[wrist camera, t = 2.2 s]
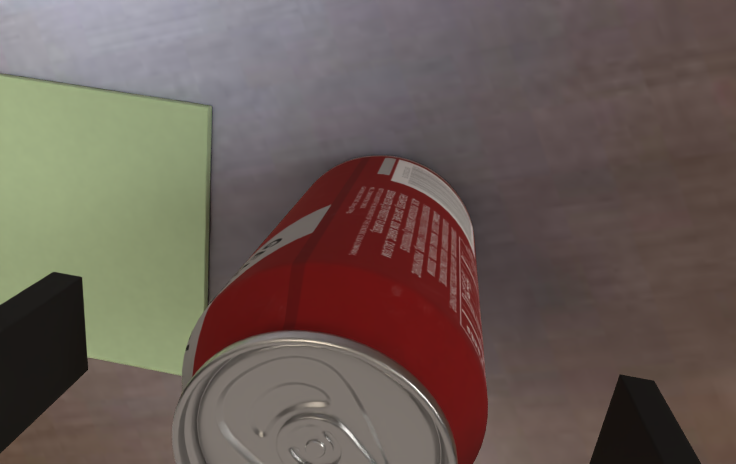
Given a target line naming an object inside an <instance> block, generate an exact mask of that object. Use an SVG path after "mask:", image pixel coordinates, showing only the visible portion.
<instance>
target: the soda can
mask: <svg viewBox="0 0 736 464" xmlns="http://www.w3.org/2000/svg"><path fill="white" fill-rule="evenodd" d="M182 391H183V393H182V394H181V397H180V399H179V402H178V404H177V407H176V410H175V414H174V418H173V425H172V446H173V453H174V458H175V462H176V464H473V463H474V461H475V459H476V457H477V455H478V453H479V450H480V448H481V445H482V442H483V438H484V435H485V431H486V424H487V417H488V398H487V386H486V374H485V362H484V350H483V338H482V325H481V313H480V301H479V289H478V277H477V265H476V253H475V241H474V231H473V226H472V222H471V219H470V216H469V213H468V211H467V209H466V207H465V205H464V203H463V201H462V200H461V198H460V197H459V195H458V194H457V192H456V191H455V190H454V189H453V188H452V187H451V185H450V184H449V183H448V182H447V181H445V180H444V179H443V178H442V177H441V176H440V175H438V174H437V173H436V172H434V171H432V170H431V169H429V168H428V167H426V166H424V165H422V164H420V163H417V162H414V161H412V160H409V159H405V158H402V157H396V156H388V155H371V156H363V157H359V158H354V159H351V160H348V161H346V162H343V163H341V164H339V165H337V166H335V167H333V168H332V169H330V170H329V171H327V172H326V173H324V174H323V175H322V176H321V177H320V178H319V179H318V180H316V182H315V183H314V184H313V185H312V186H311V187H310V188H309V189H308V191H307V192H306V193H305V194H304V195H303V196H302V198H301V199H300V200H299V201H298V202H297V203H296V205H295V206H294V207H293V208H292V209H291V210H290V211H289V213H288V214H287V215H286V216H285V217H284V218H283V220H282V221H281V222H280V223H279V224H278V225H277V227H276V228H275V229H274V230H273V231H272V232H271V234H270V235H269V236H268V237H267V238H266V239H265V241H264V242H263V243H262V244H261V245H260V246H259V248H258V249H257V250H256V251H255V252H254V253H253V254H252V256H251V257H250V258H249V259H248V260H247V261H246V263H245V264H244V265H243V266H242V267H241V268H240V270H239V271H238V272H237V273H236V274H235V275H234V277H233V278H232V279H231V280H230V281H229V282H228V284H227V285H226V286H225V287H224V288H223V289H222V291H221V292H220V293H219V294H218V295H217V296H216V297H215V299H214V300H213V301H212V302H211V303H210V304H209V306H208V307H207V308H206V310H205V311H204V312H203V314H202V315H201V317H200V318H199V319H198V321H197V323H196V325H195V327H194V329H193V331H192V333H191V335H190V338H189V340H188V343H187V346H186V350H185V354H184V359H183V366H182Z"/></svg>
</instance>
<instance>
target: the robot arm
mask: <svg viewBox="0 0 736 464" xmlns="http://www.w3.org/2000/svg"><path fill="white" fill-rule="evenodd" d="M87 370H88V361H87V345H86V329H85V313H84V298H83V282H82V277H80V276H74V275H69V274H63V273H58V272H52V273H50V274H49V275H47V276H46V277H44V278H42V279H41V280H39V281H38V282H36V283H34V284H33V285H31V286H30V287H28V288H26V289H25V290H23V291H22V292H20V293H18V294H17V295H15V296H14V297H12V298H10V299H9V300H7V301H6V302H4V303H2V304H1V305H0V453H1V452H2V451H3V450H4V449H5V448H6V447H8V446H9V445H10V444H11V443H12V442H13V441H14V440H15V439H16V438H17V437H18V436H19V435H20V434H21V433H22V432H23V431H24V430H25V429H26V428H27V427H28V426H30V425H31V424H32V423H33V422H34V421H35V420H36V419H37V418H38V417H39V416H40V415H41V414H42V413H43V412H44V411H45V410H46V409H47V408H48V407H49V406H51V405H52V404H53V403H54V402H55V401H56V400H57V399H58V398H59V397H60V396H61V395H62V394H63V393H64V392H65V391H66V390H67V389H68V388H69V387H70V386H72V385H73V384H74V383H75V382H76V381H77V380H78V379H79V378H80V377H81V376H82V375H83V374H84V373H85V372H86V371H87ZM590 464H701V463H700V461H699V459H698V457H697V456H696V454H695V452H694V450H693V449H692V447H691V445H690V443H689V441H688V440H687V438H686V436H685V434H684V433H683V431H682V429H681V427H680V426H679V424H678V422H677V420H676V419H675V417H674V415H673V413H672V412H671V410H670V408H669V406H668V405H667V403H666V401H665V399H664V397H663V396H662V394H661V392H660V390H659V389H658V387H657V385H656V383H655V382H654V381H652V380H647V379H641V378H636V377H630V376H625V375H619V378H618V381H617V384H616V387H615V390H614V393H613V396H612V399H611V402H610V405H609V408H608V411H607V414H606V417H605V420H604V423H603V426H602V429H601V432H600V434H599V437H598V440H597V443H596V446H595V449H594V452H593V455H592V458H591V461H590Z"/></svg>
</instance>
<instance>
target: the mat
mask: <svg viewBox="0 0 736 464" xmlns="http://www.w3.org/2000/svg"><path fill="white" fill-rule="evenodd" d="M211 122H212V106H209V105H203V104H196V103H190V102H183V101H177V100H170V99H163V98H157V97H150V96H144V95H137V94H131V93H124V92H118V91H111V90H105V89H98V88H92V87H85V86H79V85H72V84H66V83H59V82H53V81H46V80H40V79H33V78H26V77H20V76H13V75H7V74H0V305H1V304H2V303H4V302H6V301H7V300H9V299H10V298H12V297H14V296H15V295H17V294H18V293H20V292H22V291H23V290H25V289H26V288H28V287H30V286H31V285H33V284H34V283H36V282H38V281H39V280H41V279H42V278H44V277H46V276H47V275H49V274H50V273H52V272H58V273H63V274H69V275H74V276H80V277H82V282H83V298H84V313H85V329H86V345H87V357H90V358H95V359H100V360H105V361H110V362H115V363H120V364H125V365H130V366H135V367H140V368H145V369H150V370H155V371H160V372H165V373H170V374H175V375H180V376H182V366H183V359H184V354H185V350H186V346H187V343H188V340H189V338H190V335H191V333H192V331H193V329H194V327H195V325H196V323H197V321H198V319H199V318H200V317H201V315H202V314H203V312H204V311H205V310H206V308H207V307H208V261H209V215H210V169H211Z"/></svg>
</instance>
